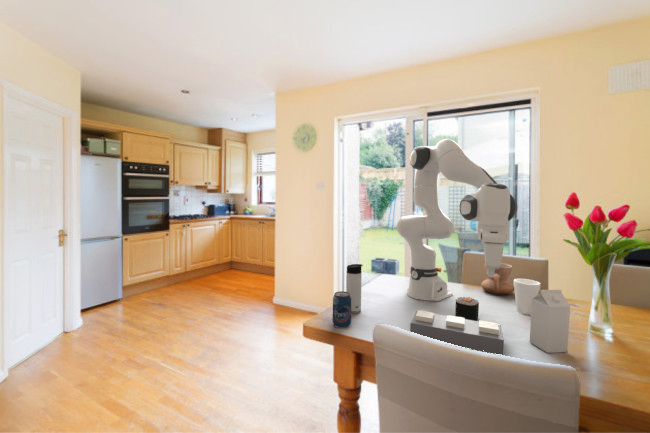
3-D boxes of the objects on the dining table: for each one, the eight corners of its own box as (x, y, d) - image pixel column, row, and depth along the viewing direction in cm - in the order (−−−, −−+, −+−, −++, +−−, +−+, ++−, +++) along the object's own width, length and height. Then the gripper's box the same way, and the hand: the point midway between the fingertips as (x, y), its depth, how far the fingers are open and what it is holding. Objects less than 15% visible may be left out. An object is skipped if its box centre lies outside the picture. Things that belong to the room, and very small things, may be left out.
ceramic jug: (484, 285, 167) (485, 260, 166) (515, 290, 159) (516, 263, 157) (477, 294, 153) (478, 266, 152) (511, 300, 144) (512, 271, 143)
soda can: (334, 329, 112) (334, 297, 111) (331, 321, 118) (331, 291, 118) (353, 328, 113) (353, 296, 112) (348, 320, 119) (348, 290, 119)
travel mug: (361, 314, 126) (361, 266, 124) (345, 313, 127) (345, 265, 125) (362, 309, 132) (363, 263, 130) (347, 307, 133) (347, 262, 132)
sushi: (480, 318, 123) (481, 298, 122) (473, 324, 117) (473, 303, 116) (460, 312, 128) (460, 294, 128) (451, 318, 123) (452, 298, 122)
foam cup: (512, 306, 136) (513, 277, 135) (537, 310, 132) (539, 280, 131) (512, 313, 128) (514, 282, 127) (539, 318, 123) (541, 286, 122)
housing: (409, 336, 106) (410, 322, 106) (415, 323, 117) (416, 311, 117) (503, 355, 94) (504, 340, 94) (500, 339, 105) (500, 325, 104)
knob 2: (478, 342, 100) (479, 326, 99) (478, 335, 105) (478, 320, 104) (498, 346, 97) (498, 329, 97) (497, 338, 102) (497, 323, 102)
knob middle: (445, 336, 104) (446, 320, 104) (446, 329, 109) (447, 315, 109) (463, 339, 102) (464, 323, 101) (464, 332, 107) (464, 317, 106)
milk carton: (529, 342, 103) (532, 286, 101) (549, 341, 103) (552, 286, 102) (546, 353, 96) (549, 293, 94) (567, 352, 96) (571, 293, 95)
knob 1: (415, 330, 108) (415, 315, 108) (417, 324, 113) (418, 310, 113) (431, 333, 106) (432, 318, 106) (433, 327, 111) (434, 312, 111)
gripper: (481, 229, 109) (479, 268, 110) (482, 237, 91) (480, 283, 92) (501, 231, 106) (499, 270, 107) (507, 238, 88) (504, 285, 89)
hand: (490, 276), depth 99 cm, fingers closed
